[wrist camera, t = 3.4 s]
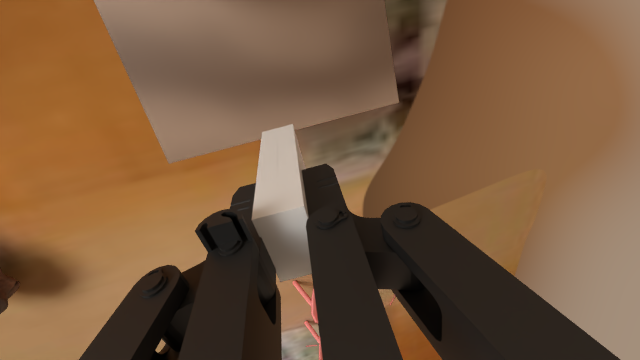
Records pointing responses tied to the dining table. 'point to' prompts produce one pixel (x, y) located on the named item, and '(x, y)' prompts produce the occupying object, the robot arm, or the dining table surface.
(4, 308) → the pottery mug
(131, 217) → the dining table surface
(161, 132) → the panel with push button
